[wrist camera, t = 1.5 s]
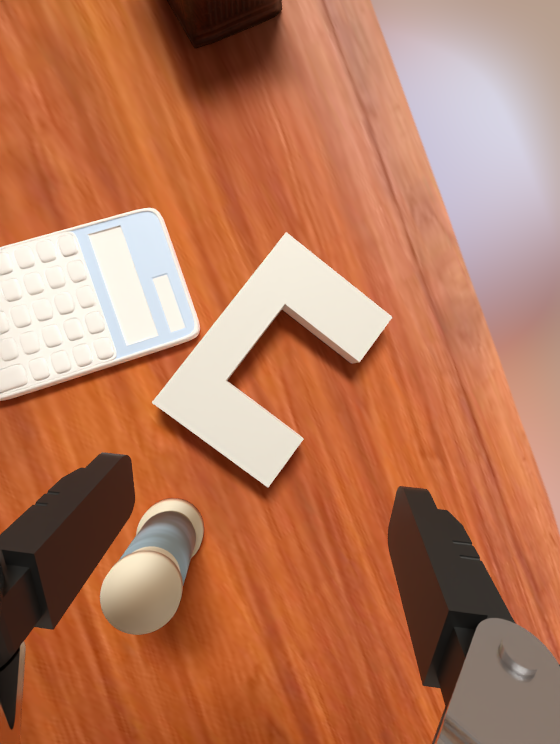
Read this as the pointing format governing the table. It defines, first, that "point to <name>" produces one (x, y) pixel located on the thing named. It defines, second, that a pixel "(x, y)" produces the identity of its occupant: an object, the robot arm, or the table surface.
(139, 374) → the table surface
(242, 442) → the notched board
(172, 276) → the calculator
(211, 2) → the manual coffee grinder
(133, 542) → the disc
